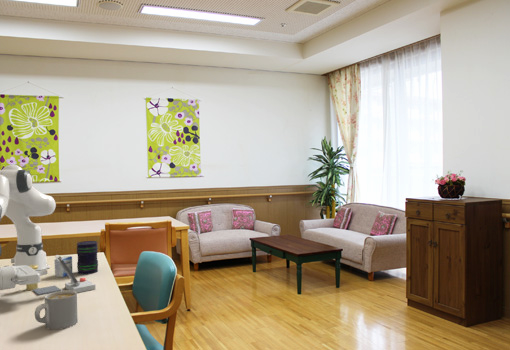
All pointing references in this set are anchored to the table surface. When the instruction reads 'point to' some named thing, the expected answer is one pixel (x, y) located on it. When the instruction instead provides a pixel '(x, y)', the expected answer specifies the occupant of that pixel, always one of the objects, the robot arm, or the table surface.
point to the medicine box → (59, 269)
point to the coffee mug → (58, 310)
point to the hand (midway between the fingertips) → (46, 271)
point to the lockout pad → (46, 290)
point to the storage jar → (87, 257)
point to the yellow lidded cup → (32, 286)
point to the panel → (80, 286)
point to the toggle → (67, 270)
